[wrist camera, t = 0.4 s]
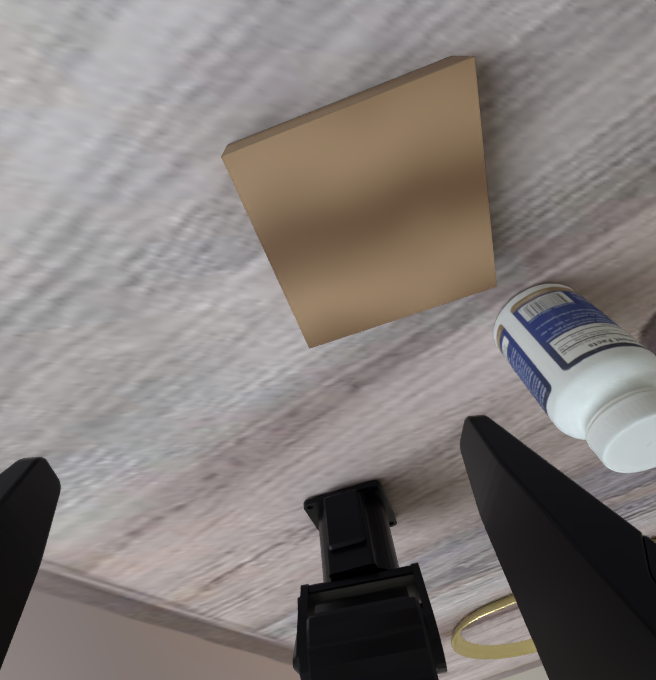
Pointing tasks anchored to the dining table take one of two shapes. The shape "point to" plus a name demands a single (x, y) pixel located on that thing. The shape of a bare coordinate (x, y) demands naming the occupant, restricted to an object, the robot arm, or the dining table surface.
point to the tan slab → (373, 201)
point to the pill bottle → (583, 373)
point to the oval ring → (490, 650)
